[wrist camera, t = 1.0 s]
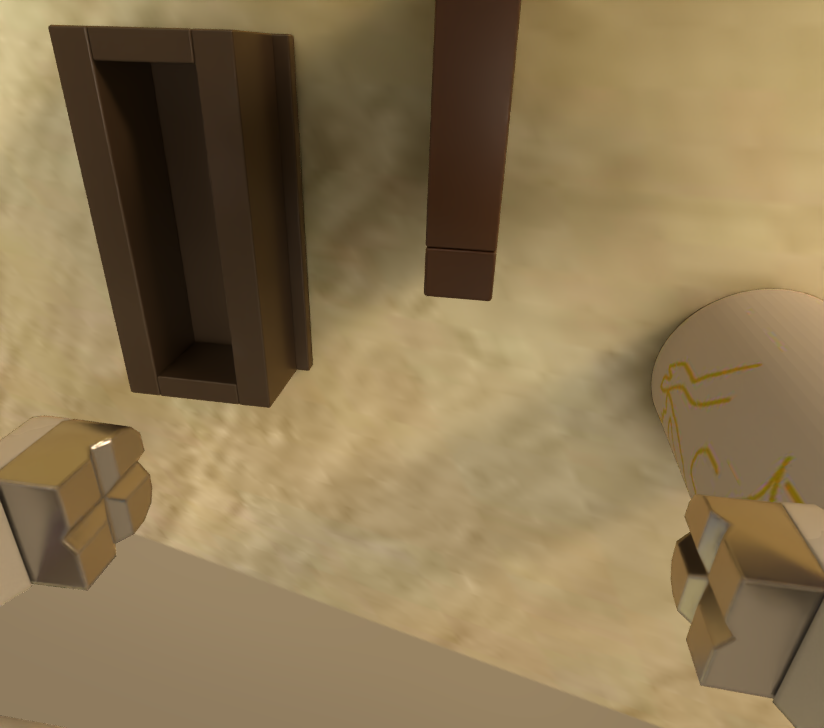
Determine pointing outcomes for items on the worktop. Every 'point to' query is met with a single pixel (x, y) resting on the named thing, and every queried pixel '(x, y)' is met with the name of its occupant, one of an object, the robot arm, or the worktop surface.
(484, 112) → the frame
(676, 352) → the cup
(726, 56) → the worktop surface
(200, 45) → the holder
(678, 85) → the worktop surface
